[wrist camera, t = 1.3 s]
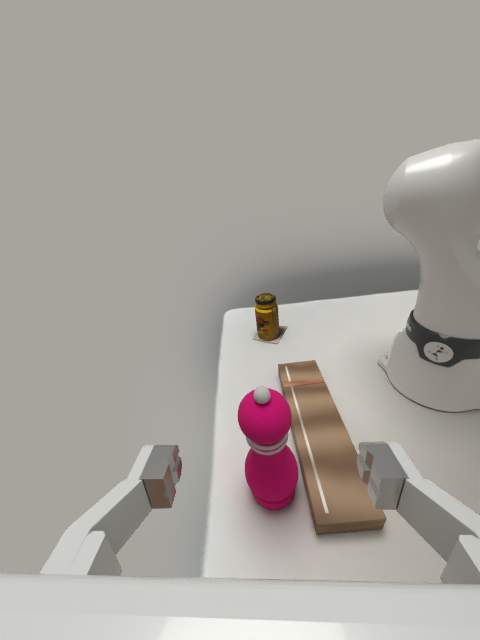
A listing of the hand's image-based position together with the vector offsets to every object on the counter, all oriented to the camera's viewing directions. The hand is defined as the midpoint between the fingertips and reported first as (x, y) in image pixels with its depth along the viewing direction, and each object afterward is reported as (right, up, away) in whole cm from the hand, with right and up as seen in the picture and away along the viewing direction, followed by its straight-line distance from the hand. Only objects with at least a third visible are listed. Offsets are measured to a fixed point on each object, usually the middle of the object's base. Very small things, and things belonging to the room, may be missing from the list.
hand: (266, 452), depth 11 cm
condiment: (+7, +2, +57) cm, 58 cm away
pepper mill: (+4, -18, +24) cm, 31 cm away
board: (+12, -13, +31) cm, 35 cm away
